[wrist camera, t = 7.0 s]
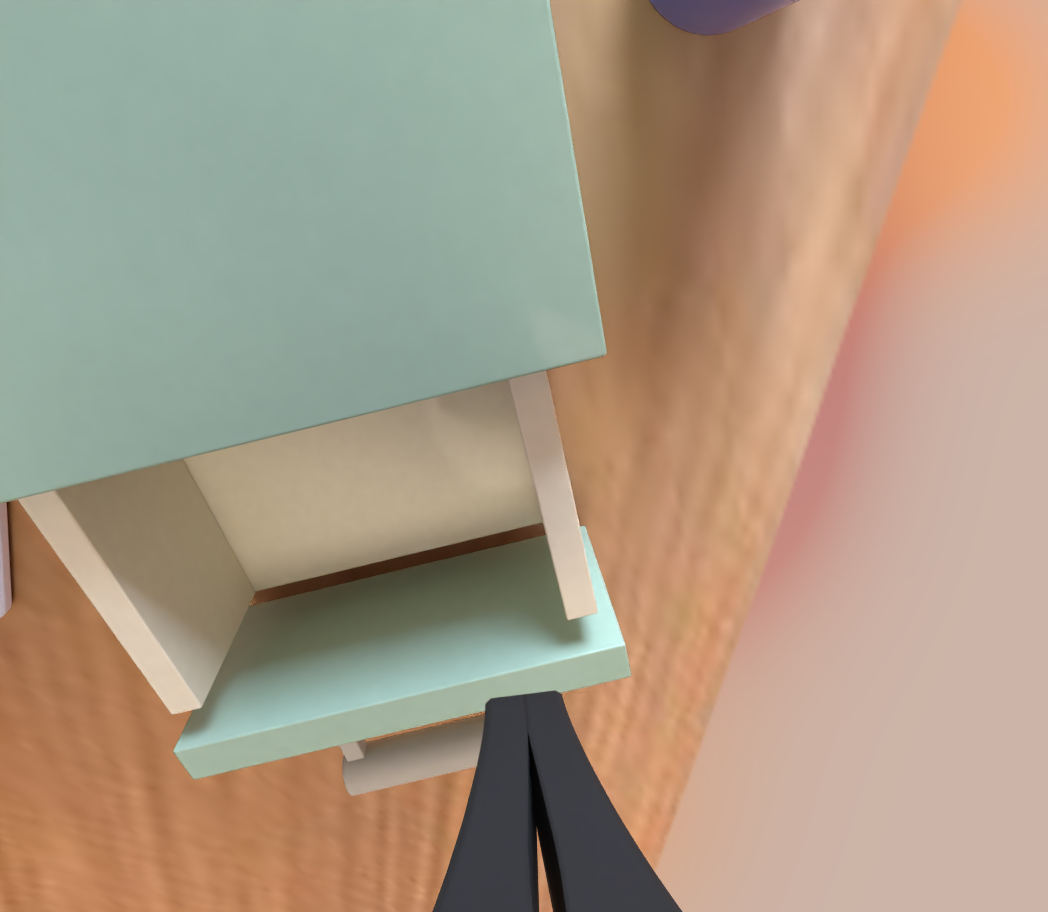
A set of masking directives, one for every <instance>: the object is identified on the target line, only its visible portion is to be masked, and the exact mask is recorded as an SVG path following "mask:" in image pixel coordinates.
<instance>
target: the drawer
mask: <svg viewBox="0 0 1048 912" xmlns="http://www.w3.org/2000/svg"><path fill="white" fill-rule="evenodd" d="M17 500H18V501H19V502H20V504H21V505H22V506H23V508H24V509H25V511H26V512H27V513H28V515H29V516H30V518H31V519H32V520H33V522H34V523H35V525H36V526H37V527H38V529H39V530H40V532H41V533H42V534H43V536H44V537H45V539H46V540H47V541H48V543H49V544H50V546H51V547H52V548H53V550H54V551H55V552H56V554H57V555H58V557H59V558H60V559H61V561H62V562H63V564H64V565H65V566H66V568H67V569H68V571H69V572H70V573H71V575H72V576H73V578H74V579H75V580H76V582H77V583H78V585H79V586H80V587H81V589H82V590H83V592H84V593H85V594H86V596H87V597H88V599H89V600H90V601H91V603H92V604H93V605H94V607H95V608H96V610H97V611H98V612H99V614H100V615H101V617H102V618H103V619H104V621H105V622H106V624H107V625H108V626H109V628H110V629H111V631H112V632H113V633H114V635H115V636H116V638H117V639H118V640H119V642H120V643H121V645H122V646H123V647H124V649H125V650H126V651H127V653H128V654H129V656H130V657H131V658H132V660H133V661H134V663H135V664H136V665H137V667H138V668H139V670H140V671H141V672H142V674H143V675H144V677H145V678H146V679H147V681H148V682H149V684H150V685H151V686H152V688H153V689H154V691H155V692H156V693H157V695H158V696H159V698H160V699H161V700H162V702H163V703H164V704H165V706H166V707H167V709H168V710H169V711H170V713H171V714H177V713H182V712H186V711H190V710H193V711H192V713H191V715H190V717H189V719H188V721H187V723H186V725H185V728H184V730H183V732H182V734H181V736H180V738H179V740H178V742H177V744H176V746H175V748H174V750H173V752H174V754H175V755H176V757H177V758H178V759H179V761H180V762H181V763H182V765H183V766H184V767H185V769H186V770H187V771H188V773H189V774H190V776H191V777H192V778H193V779H200V778H204V777H208V776H212V775H217V774H221V773H225V772H229V771H234V770H238V769H242V768H246V767H250V766H255V765H259V764H263V763H267V762H272V761H276V760H280V759H284V758H288V757H293V756H297V755H301V754H305V753H310V752H314V751H318V750H322V749H326V748H331V747H335V746H339V747H340V749H341V751H342V752H343V754H344V756H343V779H344V783H345V787H346V789H347V791H348V793H349V794H350V795H352V796H355V795H359V794H363V793H368V792H372V791H376V790H380V789H385V788H389V787H393V786H397V785H402V784H406V783H410V782H414V781H419V780H423V779H427V778H431V777H436V776H440V775H444V774H448V773H453V772H457V771H461V770H465V769H470V768H474V767H477V762H478V757H479V752H480V747H481V742H482V735H483V728H484V720H485V714H483V715H479V716H474V717H470V718H466V719H462V720H457V721H453V722H449V723H445V724H441V725H436V726H432V727H428V728H424V729H419V730H415V731H411V732H407V733H402V734H398V735H394V736H390V737H386V738H381V739H377V740H373V741H369V742H366V740H365V739H369V738H373V737H377V736H381V735H386V734H390V733H394V732H398V731H403V730H407V729H411V728H415V727H419V726H424V725H428V724H432V723H436V722H441V721H445V720H449V719H453V718H457V717H462V716H466V715H470V714H474V713H479V712H483V711H485V703H486V702H487V701H489V700H490V699H491V698H497V697H505V696H513V695H522V694H530V693H538V692H546V691H554V690H556V691H557V692H559V693H563V692H567V691H572V690H576V689H580V688H584V687H589V686H593V685H597V684H601V683H605V682H610V681H614V680H618V679H622V678H627V677H630V676H631V671H630V666H629V661H628V656H627V650H626V645H625V642H624V639H623V636H622V633H621V630H620V627H619V624H618V621H617V618H616V615H615V612H614V609H613V607H612V604H611V601H610V598H609V595H608V592H607V589H606V586H605V583H604V580H603V577H602V574H601V571H600V568H599V565H598V562H597V559H596V556H595V554H594V551H593V548H592V545H591V542H590V539H589V536H588V533H587V530H586V527H585V526H580V525H579V520H578V515H577V511H576V506H575V501H574V497H573V492H572V487H571V483H570V478H569V473H568V469H567V464H566V459H565V455H564V450H563V445H562V441H561V436H560V431H559V427H558V422H557V417H556V412H555V408H554V403H553V398H552V394H551V389H550V384H549V380H548V375H547V370H546V371H542V372H538V373H534V374H529V375H525V376H521V377H517V378H513V379H509V380H505V381H501V382H497V383H493V384H489V385H484V386H480V387H476V388H472V389H468V390H464V391H460V392H456V393H452V394H448V395H443V396H439V397H435V398H431V399H427V400H423V401H419V402H415V403H411V404H407V405H402V406H398V407H394V408H390V409H386V410H382V411H378V412H374V413H370V414H366V415H362V416H357V417H353V418H349V419H345V420H341V421H337V422H333V423H329V424H325V425H321V426H316V427H312V428H308V429H304V430H300V431H296V432H292V433H288V434H284V435H280V436H275V437H271V438H267V439H263V440H259V441H255V442H251V443H247V444H243V445H239V446H235V447H230V448H226V449H222V450H218V451H214V452H210V453H206V454H202V455H198V456H194V457H189V458H185V459H181V460H177V461H173V462H169V463H165V464H161V465H157V466H153V467H149V468H144V469H140V470H136V471H132V472H128V473H124V474H120V475H116V476H112V477H108V478H103V479H99V480H95V481H91V482H87V483H83V484H79V485H75V486H71V487H67V488H62V489H58V490H54V491H50V492H46V493H42V494H38V495H34V496H30V497H26V498H22V499H17ZM539 523H543V525H544V529H545V533H546V535H543V536H539V537H534V538H530V539H526V540H522V541H518V542H514V543H509V544H505V545H501V546H497V547H493V548H489V549H484V550H480V551H476V552H472V553H468V554H464V555H459V556H455V557H451V558H447V559H443V560H439V561H435V562H430V563H426V564H422V565H418V566H414V567H410V568H405V569H401V570H397V571H393V572H389V573H385V574H380V575H376V576H372V577H368V578H364V579H360V580H355V581H351V582H347V583H343V584H339V585H335V586H331V587H326V588H322V589H318V590H314V591H310V592H306V593H301V594H297V595H293V596H289V597H285V598H281V599H276V600H272V601H268V602H264V603H260V604H256V605H251V606H249V605H250V603H251V601H252V599H253V597H254V595H255V592H256V591H260V590H264V589H268V588H273V587H277V586H281V585H285V584H289V583H293V582H298V581H302V580H306V579H310V578H314V577H318V576H322V575H327V574H331V573H335V572H339V571H343V570H347V569H352V568H356V567H360V566H364V565H368V564H372V563H376V562H381V561H385V560H389V559H393V558H397V557H401V556H406V555H410V554H414V553H418V552H422V551H426V550H430V549H435V548H439V547H443V546H447V545H451V544H455V543H460V542H464V541H468V540H472V539H476V538H480V537H485V536H489V535H493V534H497V533H501V532H505V531H509V530H514V529H518V528H522V527H526V526H530V525H534V524H539Z"/></svg>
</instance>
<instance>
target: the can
mask: <svg viewBox="0 0 1048 912" xmlns="http://www.w3.org/2000/svg"><path fill="white" fill-rule="evenodd" d="M649 1H650V2H651V4H652V5H653V6H654V8H655V9H656V10H657V11H658V12H659V13H660V14H661V15H662V16H663V17H664V18H665V19H666V20H667V21H669V22H670V23H671V24H673V25H674V26H676V27H678V28H680V29H682V30H684V31H687V32H690V33H693V34H700V35H717V34H723V33H727V32H730V31H733V30H736V29H738V28H740V27H742V26H745V25H747V24H749V23H751V22H753V21H755V20H758V19H760V18H762V17H764V16H766V15H768V14H771V13H773V12H775V11H777V10H779V9H781V8H784V7H786V6H788V5H790V4H792V3H795V2H797V1H799V0H649Z"/></svg>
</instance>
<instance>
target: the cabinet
mask: <svg viewBox="0 0 1048 912" xmlns="http://www.w3.org/2000/svg"><path fill="white" fill-rule="evenodd" d="M606 352H607V351H606V345H605V339H604V333H603V327H602V320H601V314H600V308H599V302H598V296H597V290H596V284H595V277H594V271H593V265H592V259H591V253H590V247H589V241H588V234H587V228H586V222H585V216H584V210H583V204H582V198H581V192H580V185H579V179H578V173H577V167H576V161H575V155H574V149H573V142H572V136H571V130H570V124H569V118H568V112H567V106H566V99H565V93H564V87H563V81H562V75H561V69H560V63H559V56H558V50H557V44H556V38H555V32H554V26H553V20H552V13H551V7H550V1H549V0H0V504H1V503H5V502H9V501H13V500H17V499H22V498H26V497H30V496H34V495H38V494H42V493H46V492H50V491H54V490H58V489H62V488H67V487H71V486H75V485H79V484H83V483H87V482H91V481H95V480H99V479H103V478H108V477H112V476H116V475H120V474H124V473H128V472H132V471H136V470H140V469H144V468H149V467H153V466H157V465H161V464H165V463H169V462H173V461H177V460H181V459H185V458H189V457H194V456H198V455H202V454H206V453H210V452H214V451H218V450H222V449H226V448H230V447H235V446H239V445H243V444H247V443H251V442H255V441H259V440H263V439H267V438H271V437H275V436H280V435H284V434H288V433H292V432H296V431H300V430H304V429H308V428H312V427H316V426H321V425H325V424H329V423H333V422H337V421H341V420H345V419H349V418H353V417H357V416H362V415H366V414H370V413H374V412H378V411H382V410H386V409H390V408H394V407H398V406H402V405H407V404H411V403H415V402H419V401H423V400H427V399H431V398H435V397H439V396H443V395H448V394H452V393H456V392H460V391H464V390H468V389H472V388H476V387H480V386H484V385H489V384H493V383H497V382H501V381H505V380H509V379H513V378H517V377H521V376H525V375H529V374H534V373H538V372H542V371H546V370H550V369H554V368H558V367H562V366H566V365H570V364H575V363H579V362H583V361H587V360H591V359H595V358H599V357H603V356H605V355H606Z"/></svg>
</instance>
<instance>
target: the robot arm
mask: <svg viewBox="0 0 1048 912" xmlns="http://www.w3.org/2000/svg"><path fill="white" fill-rule="evenodd" d="M11 606H12V597H11V578H10V559H9V540H8V521H7V502H5V503H1V504H0V618H1V617H2V616H4V615H5V614H6V613H7V612H8V611H9V610H10V609H11ZM536 826H537V827H536ZM537 831H538V836H539V841H540V847H541V852H542V857H543V862H544V867H545V872H546V877H547V882H548V888H549V893H550V898H551V903H552V908H553V912H682V910H681V909H680V908H679V907H678V905H677V904H676V902H675V901H674V899H673V898H672V896H671V895H670V894H669V892H668V891H667V889H666V888H665V887H664V885H663V884H662V882H661V881H660V880H659V878H658V876H657V875H656V873H655V872H654V870H653V869H652V867H651V866H650V864H649V863H648V861H647V860H646V858H645V857H644V855H643V854H642V852H641V851H640V849H639V847H638V846H637V844H636V843H635V841H634V839H633V838H632V836H631V835H630V833H629V831H628V830H627V828H626V827H625V825H624V823H623V822H622V820H621V818H620V817H619V815H618V813H617V811H616V810H615V808H614V806H613V805H612V803H611V801H610V799H609V797H608V796H607V794H606V792H605V790H604V788H603V786H602V785H601V783H600V781H599V779H598V777H597V776H596V774H595V772H594V770H593V768H592V766H591V764H590V762H589V760H588V758H587V756H586V754H585V752H584V750H583V748H582V746H581V743H580V741H579V739H578V737H577V735H576V732H575V730H574V728H573V726H572V723H571V721H570V718H569V716H568V713H567V710H566V707H565V704H564V701H563V698H562V694H560V693H559V692H557V691H556V690H554V691H546V692H538V693H530V694H522V695H513V696H505V697H497V698H491V699H490V700H489V701H487V702H486V703H485V720H484V728H483V735H482V742H481V747H480V752H479V757H478V762H477V767H476V772H475V776H474V780H473V784H472V788H471V792H470V796H469V799H468V803H467V807H466V811H465V815H464V818H463V822H462V825H461V828H460V832H459V835H458V838H457V841H456V844H455V847H454V851H453V854H452V857H451V860H450V863H449V867H448V870H447V873H446V876H445V878H444V881H443V884H442V887H441V890H440V893H439V895H438V898H437V901H436V904H435V906H434V909H433V912H539V893H538V860H537Z"/></svg>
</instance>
